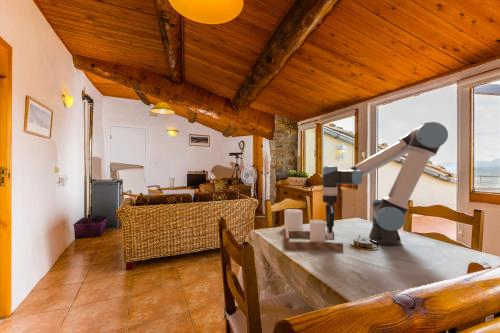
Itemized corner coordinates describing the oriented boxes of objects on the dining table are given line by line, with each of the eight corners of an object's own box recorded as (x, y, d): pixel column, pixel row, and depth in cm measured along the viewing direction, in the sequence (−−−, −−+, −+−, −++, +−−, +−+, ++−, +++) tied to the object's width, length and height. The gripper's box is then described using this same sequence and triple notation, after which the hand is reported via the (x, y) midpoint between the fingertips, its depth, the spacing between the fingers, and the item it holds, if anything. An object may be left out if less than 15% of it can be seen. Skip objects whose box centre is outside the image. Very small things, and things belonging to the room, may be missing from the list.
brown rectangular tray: (333, 237, 138) (333, 228, 138) (343, 250, 117) (343, 240, 117) (284, 235, 141) (284, 227, 141) (285, 248, 120) (285, 238, 120)
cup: (284, 230, 152) (284, 212, 152) (284, 226, 164) (284, 208, 163) (303, 231, 150) (303, 212, 150) (302, 226, 162) (302, 209, 161)
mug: (323, 239, 135) (323, 218, 135) (334, 243, 127) (334, 221, 127) (306, 242, 130) (306, 220, 130) (316, 247, 122) (316, 223, 122)
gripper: (320, 193, 134) (320, 234, 135) (324, 196, 122) (324, 242, 122) (334, 193, 134) (334, 234, 134) (340, 196, 121) (339, 242, 121)
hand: (329, 238), depth 128 cm, fingers closed
